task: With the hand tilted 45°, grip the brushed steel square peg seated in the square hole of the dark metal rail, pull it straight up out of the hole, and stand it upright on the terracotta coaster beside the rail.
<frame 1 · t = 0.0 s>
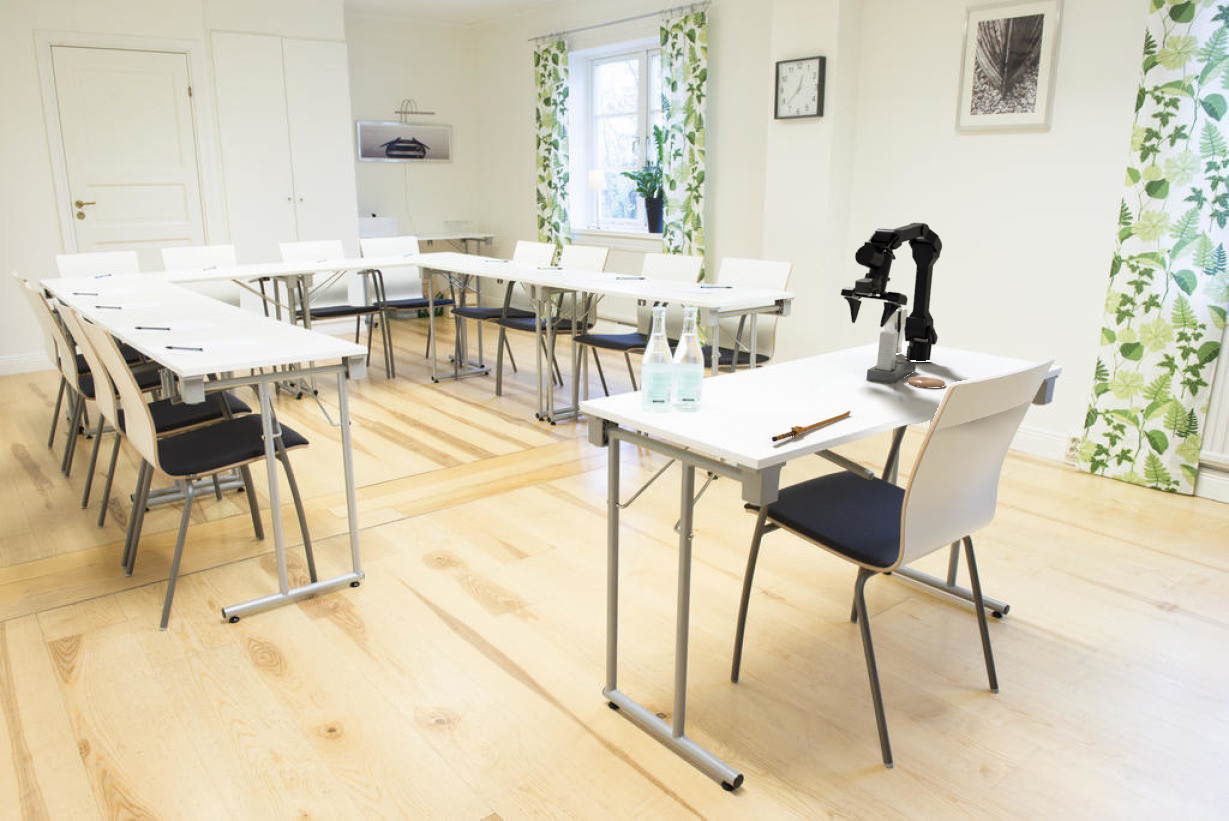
hand: (867, 324, 250), 15 cm above the table, tool pointing down, fingers open, 9 cm apart
rack rail: (884, 379, 251), on the table
terracotta coaster: (926, 384, 246), on the table
steel peg: (887, 356, 249), in the rack rail
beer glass: (892, 354, 289), on the table
katana: (814, 431, 200), on the table
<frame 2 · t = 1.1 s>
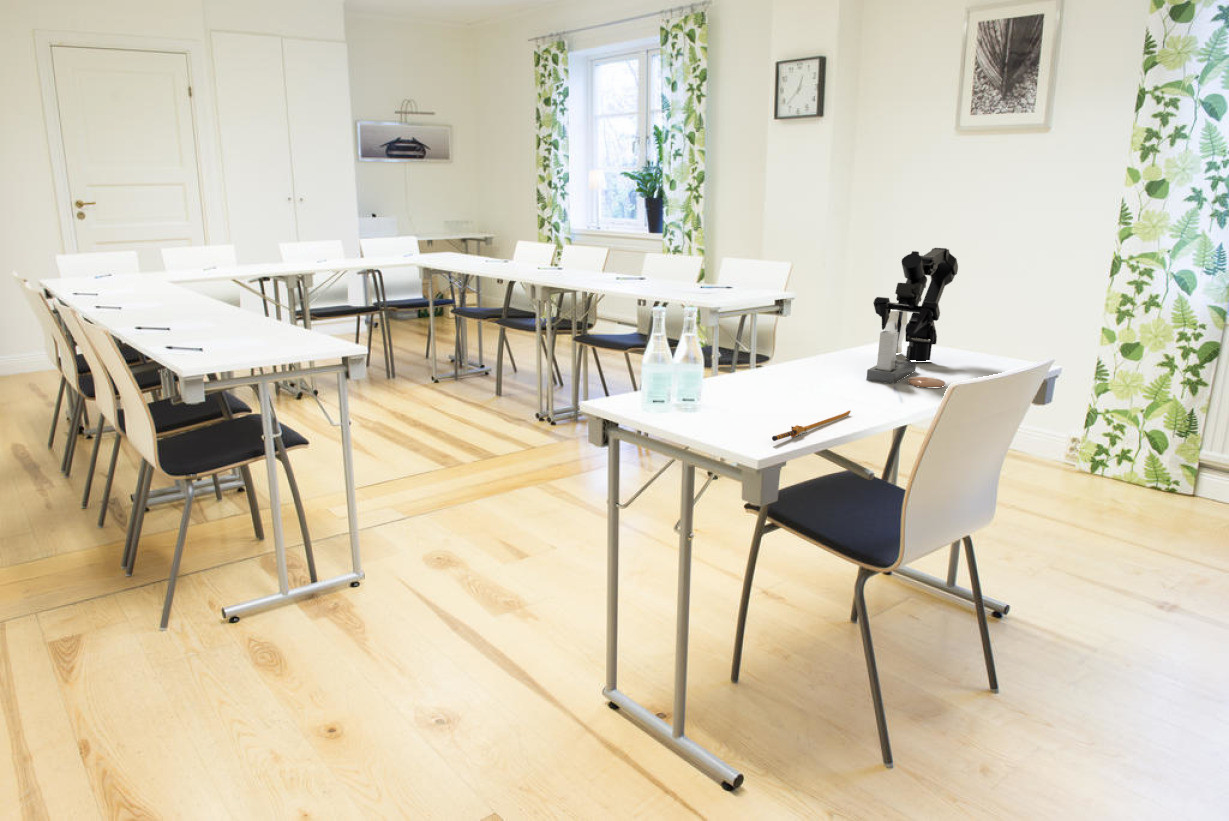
hand: (897, 330, 254), 13 cm above the table, tool tilted 45°, fingers open, 9 cm apart
nothing on the table moved.
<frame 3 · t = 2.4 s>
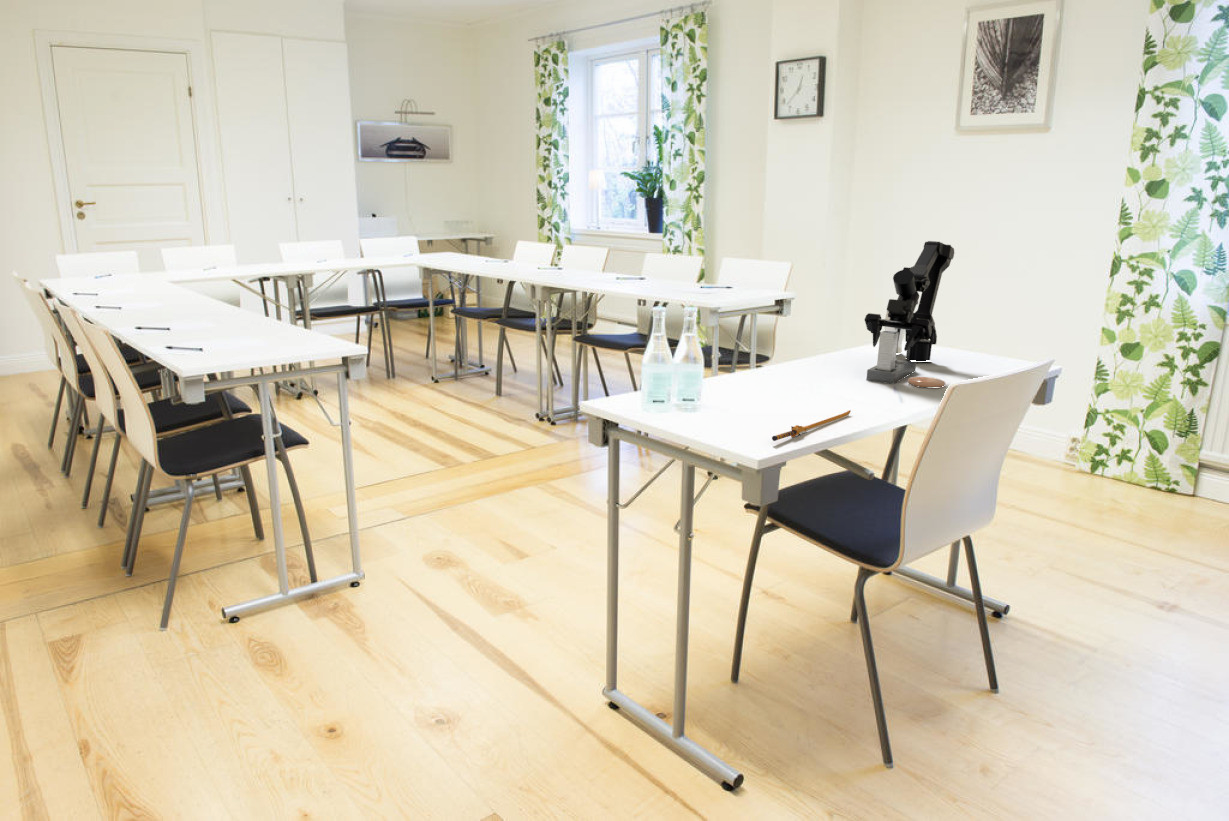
hand: (889, 347, 250), 9 cm above the table, tool tilted 45°, fingers open, 9 cm apart
nothing on the table moved.
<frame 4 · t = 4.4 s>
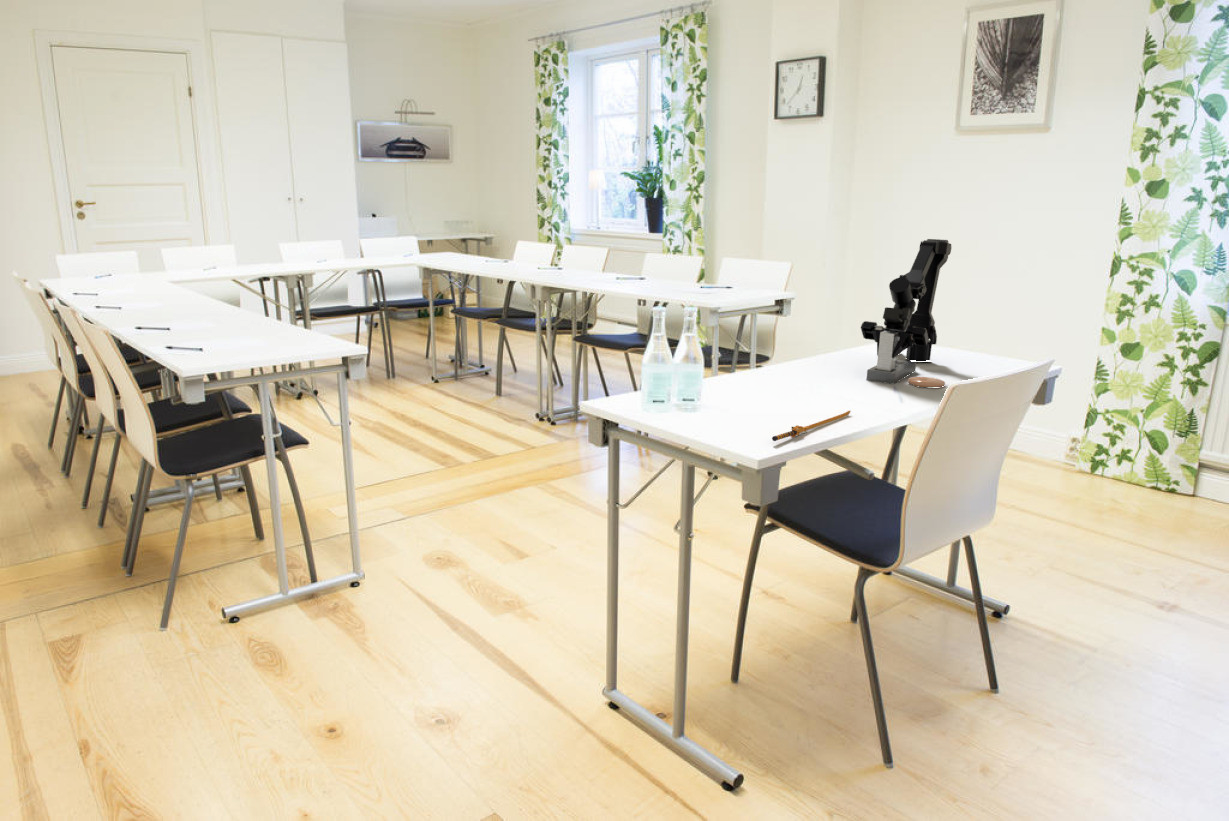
hand: (885, 356, 248), 7 cm above the table, tool tilted 45°, fingers closed on steel peg, 4 cm apart
steel peg: (887, 356, 249), in the rack rail, touching gripper
everything else where it was.
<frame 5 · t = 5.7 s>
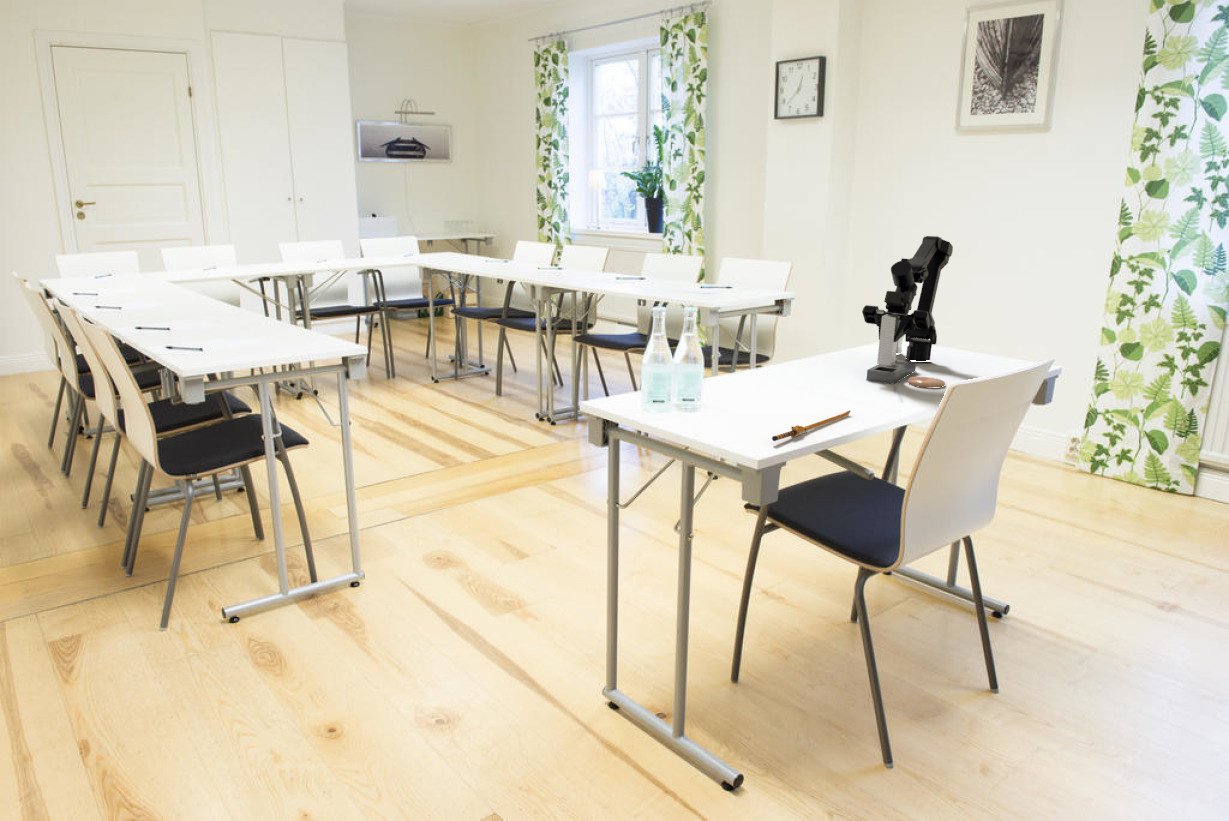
hand: (887, 340, 247), 12 cm above the table, tool tilted 45°, fingers closed on steel peg, 4 cm apart
steel peg: (888, 339, 248), point 12 cm above the table, touching gripper
everything else where it was.
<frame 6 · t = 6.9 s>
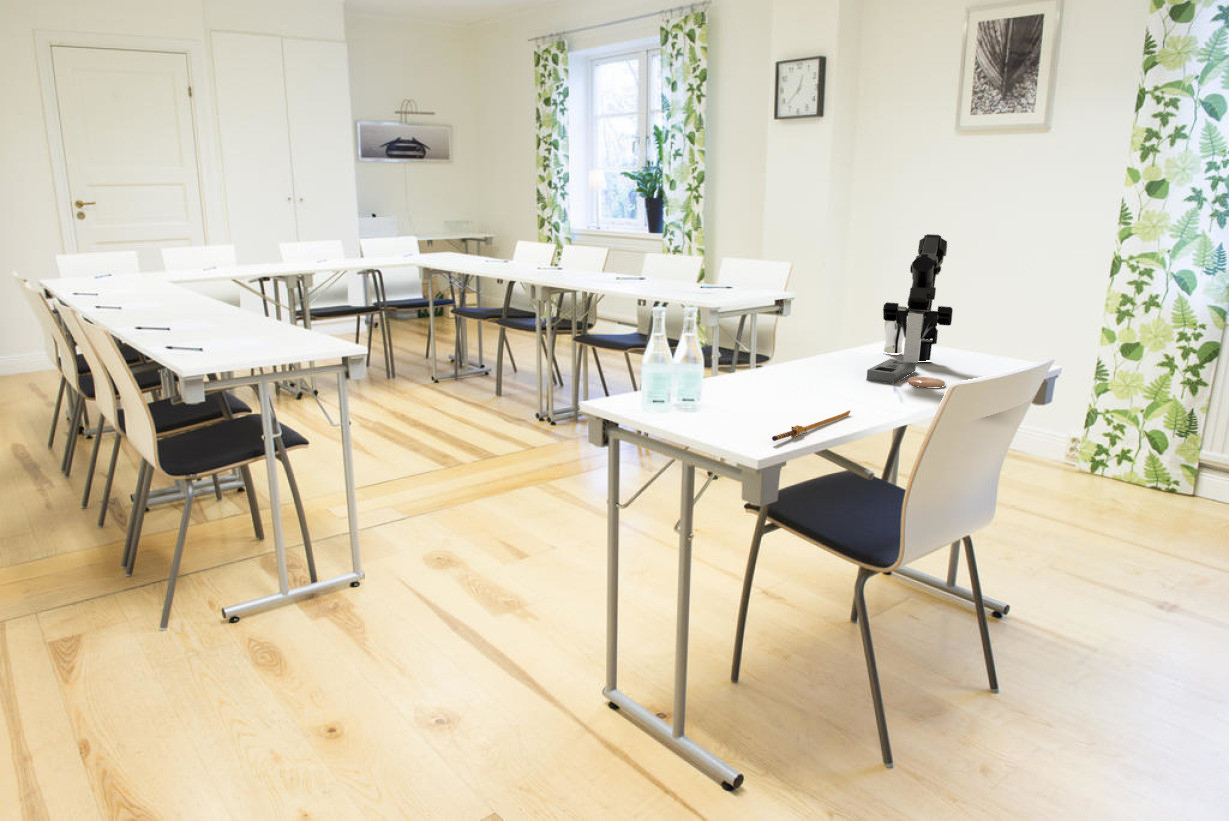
hand: (913, 337, 243), 13 cm above the table, tool tilted 45°, fingers closed on steel peg, 4 cm apart
steel peg: (913, 337, 244), point 13 cm above the table, touching gripper
everything else where it was.
when the fingers open (9 cm above the table, at t = 8.8 s): steel peg stays where it is, resting on terracotta coaster.
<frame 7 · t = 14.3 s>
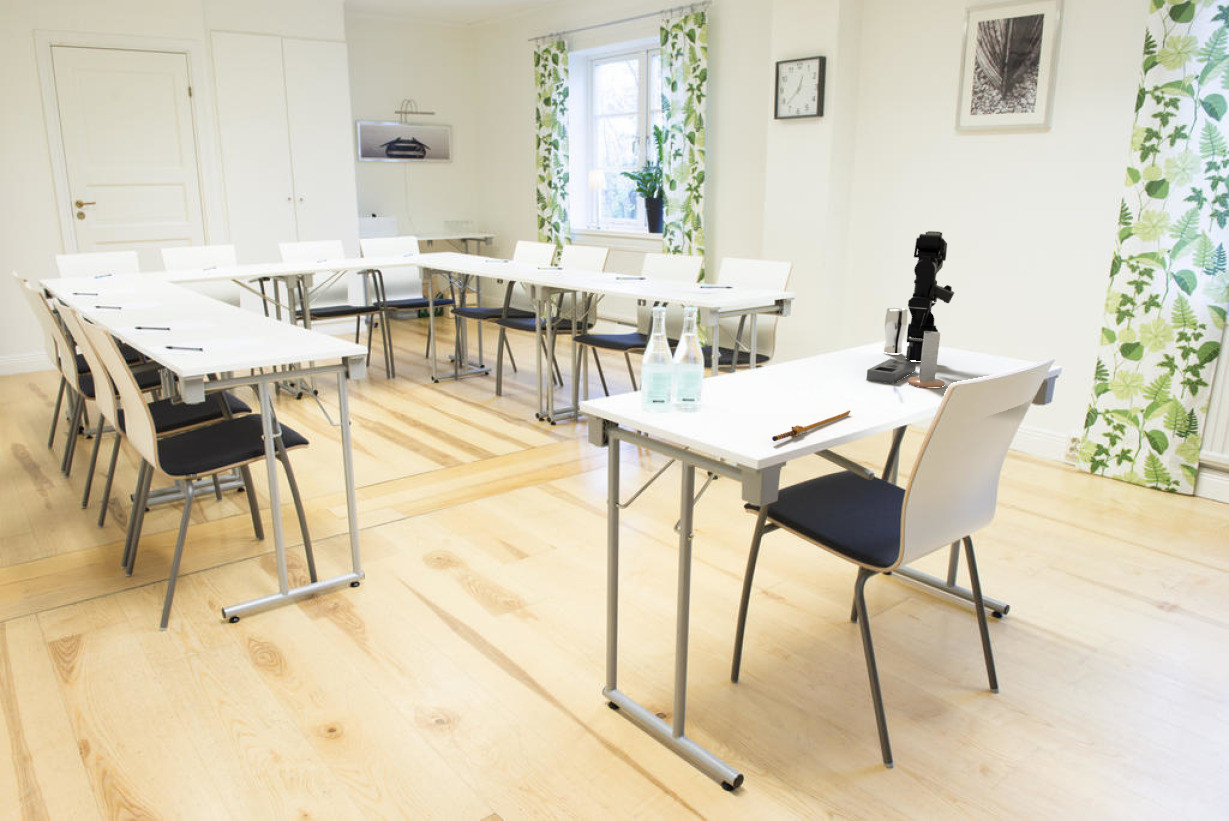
hand: (919, 327, 262), 13 cm above the table, tool pointing down, fingers open, 9 cm apart
steel peg: (929, 356, 244), on the terracotta coaster, point 8 cm above the table
everything else where it was.
at the end: steel peg 0.0 cm off-centre on the terracotta coaster, point 8.0 cm above the terracotta coaster's base; steel peg tilted 0°; the gripper is holding nothing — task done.
